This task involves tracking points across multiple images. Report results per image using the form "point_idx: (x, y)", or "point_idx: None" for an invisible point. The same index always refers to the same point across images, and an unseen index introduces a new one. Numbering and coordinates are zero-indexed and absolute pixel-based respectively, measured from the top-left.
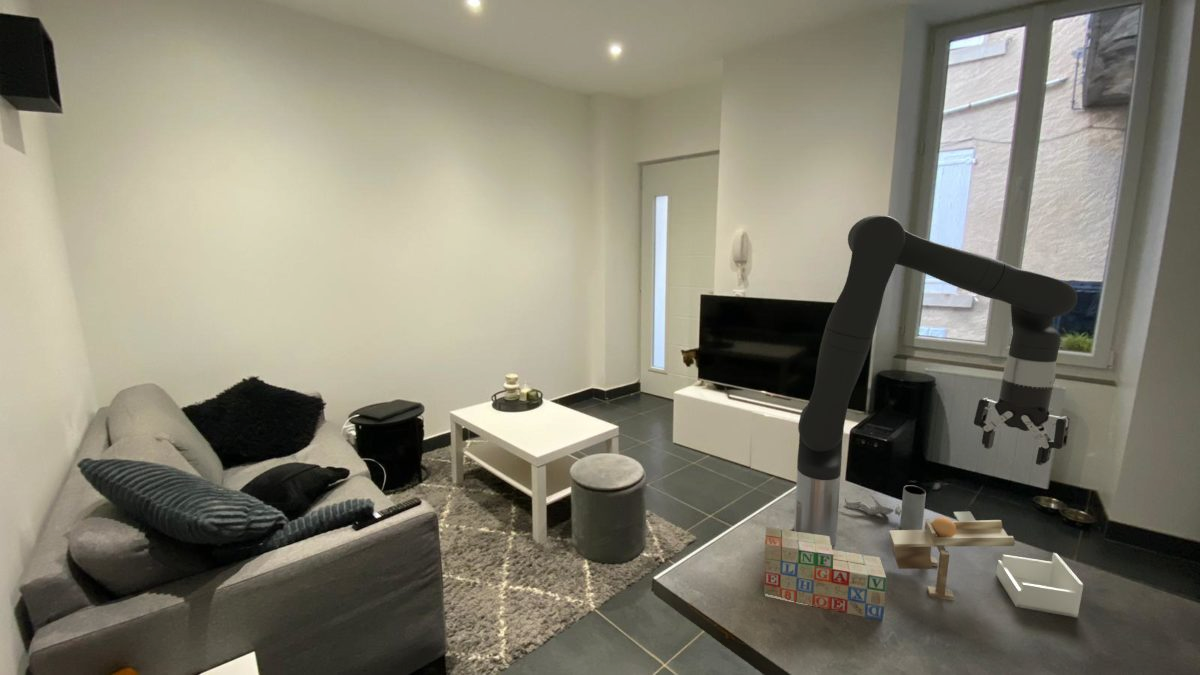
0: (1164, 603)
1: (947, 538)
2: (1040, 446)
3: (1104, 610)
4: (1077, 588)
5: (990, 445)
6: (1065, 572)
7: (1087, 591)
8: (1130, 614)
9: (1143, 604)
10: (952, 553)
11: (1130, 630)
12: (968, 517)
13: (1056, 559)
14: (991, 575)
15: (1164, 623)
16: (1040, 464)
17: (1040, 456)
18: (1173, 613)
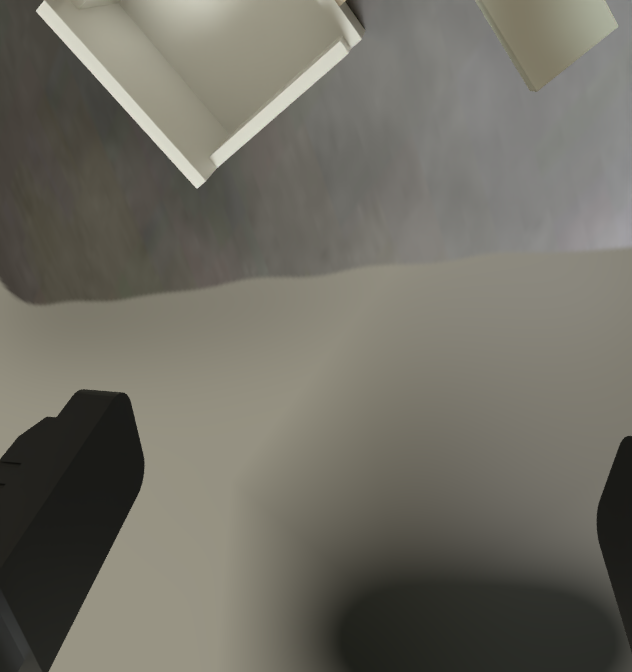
0: (51, 300)
1: None
2: (7, 608)
3: (94, 129)
4: (63, 3)
5: (621, 502)
6: (133, 87)
7: (161, 198)
8: (56, 172)
9: (68, 254)
10: None
11: (15, 79)
12: (525, 8)
13: (186, 151)
14: (375, 9)
15: (4, 202)
16: (81, 396)
17: (35, 462)
18: (21, 270)
